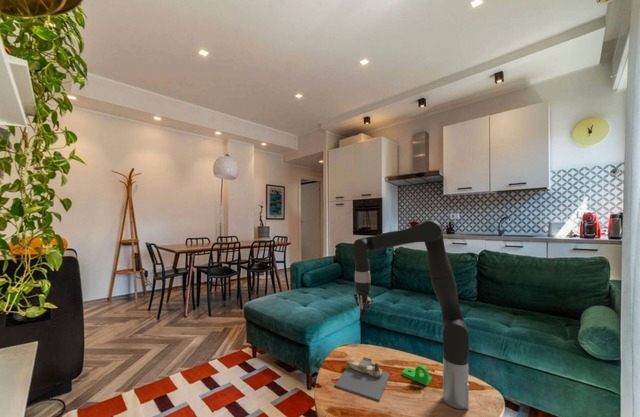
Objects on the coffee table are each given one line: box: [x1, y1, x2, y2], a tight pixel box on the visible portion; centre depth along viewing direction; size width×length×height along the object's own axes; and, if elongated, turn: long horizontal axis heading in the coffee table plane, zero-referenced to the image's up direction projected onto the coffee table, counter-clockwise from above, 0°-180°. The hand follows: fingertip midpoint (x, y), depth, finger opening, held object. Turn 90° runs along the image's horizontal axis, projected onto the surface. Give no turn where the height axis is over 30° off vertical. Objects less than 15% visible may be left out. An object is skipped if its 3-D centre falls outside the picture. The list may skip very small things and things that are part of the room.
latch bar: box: [346, 358, 383, 378], centre depth 129 cm, size 17×4×5 cm, turn 59°
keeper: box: [359, 356, 373, 369], centre depth 129 cm, size 4×8×4 cm, turn 153°
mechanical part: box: [401, 364, 433, 387], centre depth 125 cm, size 12×6×8 cm, turn 48°
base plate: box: [334, 366, 391, 402], centre depth 123 cm, size 20×20×1 cm
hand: (363, 316), depth 127 cm, fingers closed
